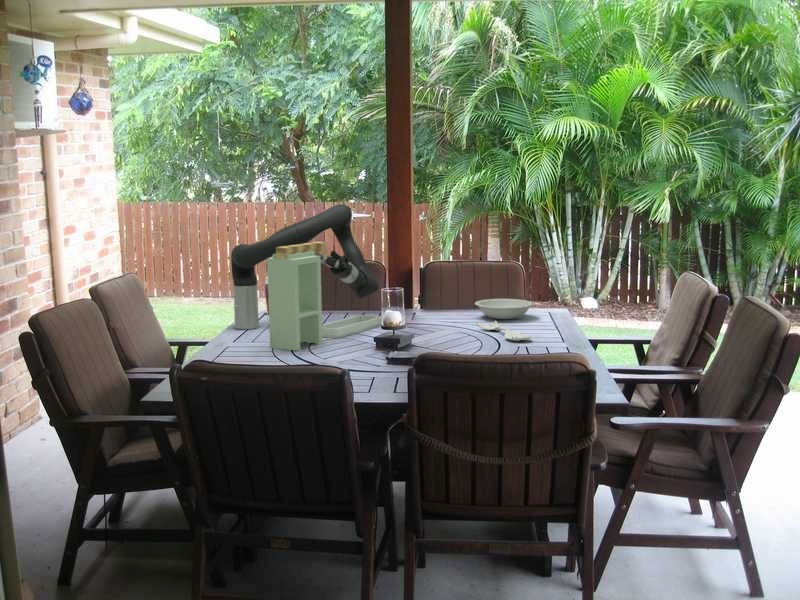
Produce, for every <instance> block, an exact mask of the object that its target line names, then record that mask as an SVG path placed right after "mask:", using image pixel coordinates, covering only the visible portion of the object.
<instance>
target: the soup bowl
mask: <svg viewBox="0 0 800 600" xmlns="http://www.w3.org/2000/svg"><path fill="white" fill-rule="evenodd" d="M474 304H475V305H476V306H477V307H478V308H479V310H480V311H481V312H482V314H484V315H485V316H486V317H489V318H492V319H496V320H512V319H517V318H520V317H522V316H524V315H525V314H526V313H527V312H528V310H529V309H530V307H533V305H534V302H533V301H529V300H525V299H518V298H517V299H516V298H490V299H482V300H477V301H475V302H474Z"/></svg>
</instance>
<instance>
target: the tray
mask: <svg viewBox="0 0 800 600" xmlns="http://www.w3.org/2000/svg"><path fill="white" fill-rule="evenodd" d="M382 317H383V316H376V315H367V314H358V315H354V316H353V315H352V316H350V317H345V318H343V319H339V320H338V319H337V320H335V321H331V322H328V323H324V324H323V323H322V338H326V337H328V339H335V338H336V339H335V340H337V339H338V338H339V339H342V338H344V337H345V338H346V337H348V335H349V336H351V334H352V335H356V334H358V332H359V333H362V332H365V330H366V331H370V330H372V328H373V329H376V328H379V326H380V327H382V326H381V323H382ZM355 333H356V334H355ZM341 337H342V338H341ZM339 339H338V340H339Z"/></svg>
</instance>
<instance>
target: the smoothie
mask: <svg viewBox="0 0 800 600" xmlns="http://www.w3.org/2000/svg"><path fill="white" fill-rule="evenodd" d="M264 281H265V282H264V291H265V300H266V301H265V303H266V312H267V313H268V315H269V298H268V277H267V278H266V280H264Z"/></svg>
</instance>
